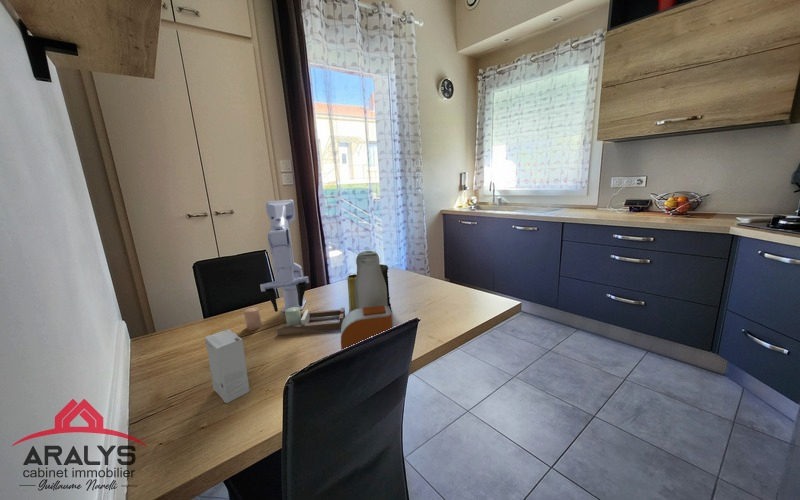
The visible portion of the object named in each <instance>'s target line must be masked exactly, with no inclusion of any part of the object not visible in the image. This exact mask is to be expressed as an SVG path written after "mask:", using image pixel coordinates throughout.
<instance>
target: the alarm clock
mask: <svg viewBox="0 0 800 500" xmlns="http://www.w3.org/2000/svg"><path fill="white" fill-rule="evenodd" d="M392 315H393V314H392V309H391V310H390V307H389V306H387V305H380V306H371V307H362V308H357V309H354V310H353V311H351V312H348V313H347V314H345V318H344V319H343V322H342V325H341V328H340V350H342V349H344V348H346V347H349V346H351V345H353V344H356V343H358V342H360V341H362V340H365V339H367V338H369V337H371V336H374V335H376V334H379V333H381V332H383V331H386V330H388V329H390V328H393V316H392Z"/></svg>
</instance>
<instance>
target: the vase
mask: <svg viewBox="0 0 800 500" xmlns="http://www.w3.org/2000/svg"><path fill="white" fill-rule="evenodd" d="M356 274H357V273H352V274H349V275H347V277H346V279H347V289H348V291H347V292H348V309H349V310H348V311H349V312H351V311H353V310H354V309H357V308H356V300H355V290H354V288H355V280H356ZM349 312H348V313H349Z"/></svg>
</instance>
